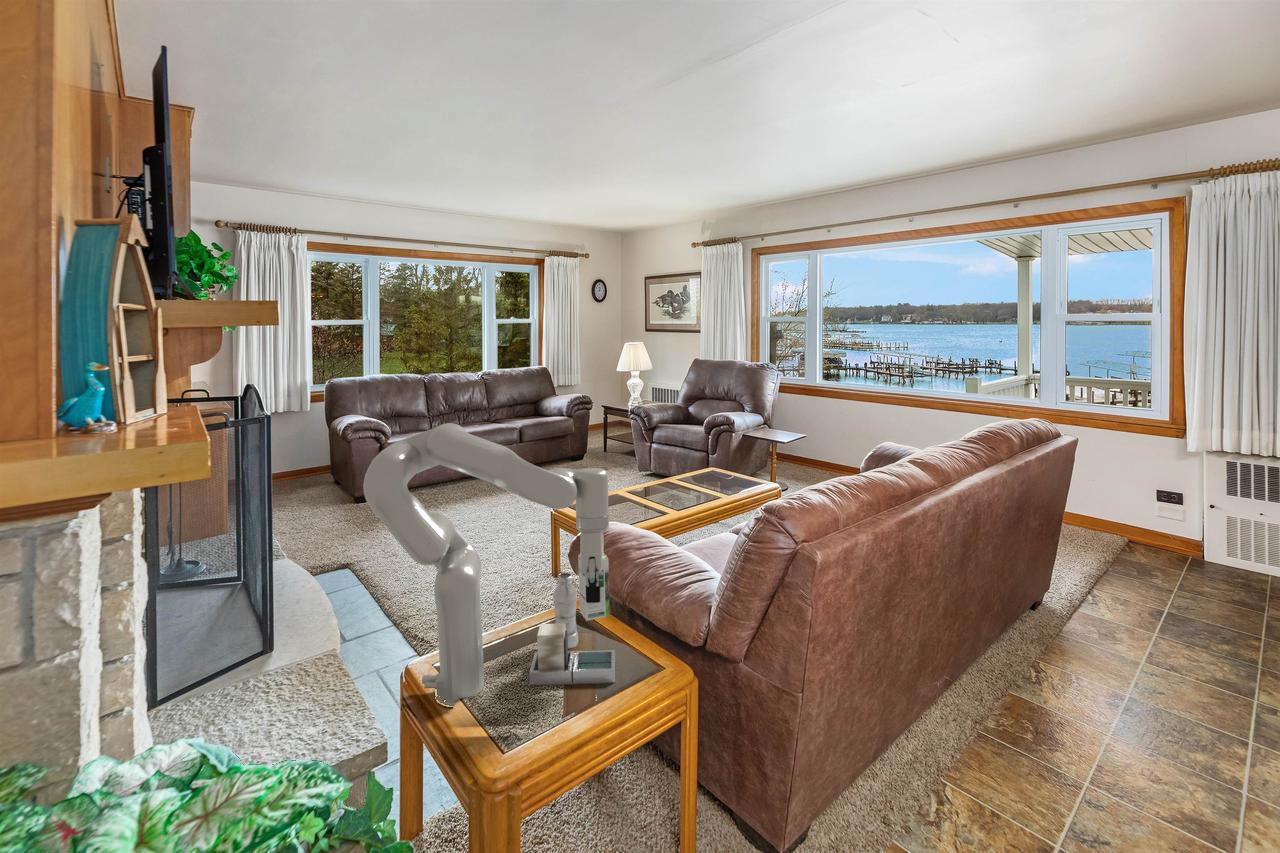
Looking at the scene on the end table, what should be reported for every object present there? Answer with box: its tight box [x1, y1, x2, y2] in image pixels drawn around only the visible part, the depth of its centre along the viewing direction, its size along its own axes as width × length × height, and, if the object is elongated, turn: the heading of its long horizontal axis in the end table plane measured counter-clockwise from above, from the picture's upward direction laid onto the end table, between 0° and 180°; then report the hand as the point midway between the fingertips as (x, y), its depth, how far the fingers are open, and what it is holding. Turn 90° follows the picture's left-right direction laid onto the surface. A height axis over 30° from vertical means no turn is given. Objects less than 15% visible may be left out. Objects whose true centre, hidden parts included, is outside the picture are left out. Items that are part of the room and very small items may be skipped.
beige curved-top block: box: [536, 623, 569, 670], centre depth 145 cm, size 6×6×11 cm
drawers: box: [528, 649, 617, 686], centre depth 146 cm, size 20×10×4 cm, turn 92°
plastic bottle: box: [552, 572, 579, 650], centre depth 160 cm, size 6×7×20 cm
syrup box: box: [577, 552, 610, 622], centre depth 144 cm, size 6×6×14 cm
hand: (593, 594), depth 144 cm, fingers closed on syrup box, 7 cm apart
